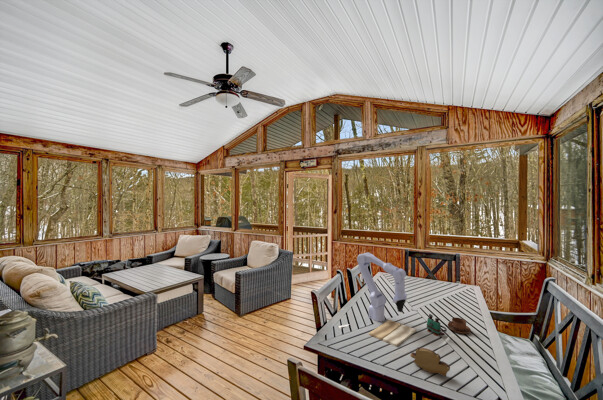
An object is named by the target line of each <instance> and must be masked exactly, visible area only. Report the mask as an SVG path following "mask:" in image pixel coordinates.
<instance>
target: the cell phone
mask: <svg viewBox="0 0 603 400" xmlns="http://www.w3.org/2000/svg"><path fill="white" fill-rule="evenodd" d="M349 325H350V324H349V323H348V324H342V325H338V328H339V329H340V330H343V329H345V328H347V327H348V326H349Z"/></svg>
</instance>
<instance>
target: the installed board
mask: <svg viewBox="0 0 603 400" xmlns="http://www.w3.org/2000/svg"><path fill="white" fill-rule="evenodd" d="M401 325H402V323H399V322H396V321H394V320H391V319H388V320H387V321H385V322H384V323H382V324H381V325H379V326H378V327H376V328H375V329H373V330H371V331H370V332H368V335H369V336H371V337H374V338H376V339H378V340H380V341H381V342H384V341H383V338H385V337H386V336H388V335H389V334H390V333H392V332H393V331H395V330H396V329H397V328H399V327H400V326H401Z"/></svg>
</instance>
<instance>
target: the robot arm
mask: <svg viewBox="0 0 603 400" xmlns="http://www.w3.org/2000/svg"><path fill="white" fill-rule="evenodd" d="M356 261H357V263H358V264H357V265H358V269H359V272H360V274H361V276H362V278H363V280H364V282H365V284H366V286H367V289H368V291H369V293H370V294H369V299H370V305H369V306H368V318H369V319H371V320H373V321H376V322H384V321H385V305H386V303H387V298H386V296H385V295H383V292H381V291H380V290H379V289H378V286H377V285H376V282H375V281H374V279H373V276H372V275H371V272H370V270H369V268H368V267H369V264H370V263H373V264H375V265H377V266H379V267H381V268H382V269H383V271H384V272H386V273H387V274H389V275H391V276H392V277H393V279H394V296H393V298H392V303H393V304H395V305H396V308H397V312H399V313H403V311H404V310H403V309H404V305H405V303H406V301H407V299H408V298H407V297H408V295H407V293H406V291H405V290H406V287H405V277H406V276H407V272H406V271H405V269H403V268H401V267H400V268H399V267H398V266H396V265H393V264H392V263H391V262H384V261H383V260H381V259H379V258H378V257H377V256H375V255H374V254H373V253H371V252H368V251H367V252H365V253H360V254H358V255H357V258H356Z"/></svg>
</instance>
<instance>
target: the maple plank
mask: <svg viewBox="0 0 603 400" xmlns="http://www.w3.org/2000/svg"><path fill="white" fill-rule="evenodd" d="M416 331H417V329H416V328H415V327H414V328H413V327H412V326H411V327H410V326H408V325H405V324H401V326H400V327H399V328H397V329H396V330H395V331H393V332H392V333H390V334H389V335H388V336H386V337H385V338H383V341H382V342H385V343H387V344H389V345H391V346H394V347H399V346H400V345H401V344H402V343H404V341H406V340H407V339H408V338H409V337H410V336H412V335H413V334H414V333H415V332H416Z"/></svg>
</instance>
